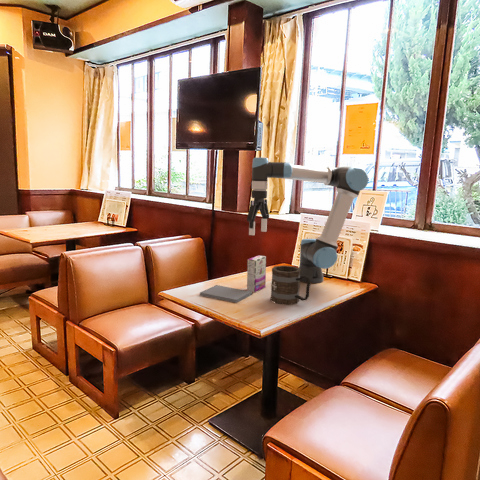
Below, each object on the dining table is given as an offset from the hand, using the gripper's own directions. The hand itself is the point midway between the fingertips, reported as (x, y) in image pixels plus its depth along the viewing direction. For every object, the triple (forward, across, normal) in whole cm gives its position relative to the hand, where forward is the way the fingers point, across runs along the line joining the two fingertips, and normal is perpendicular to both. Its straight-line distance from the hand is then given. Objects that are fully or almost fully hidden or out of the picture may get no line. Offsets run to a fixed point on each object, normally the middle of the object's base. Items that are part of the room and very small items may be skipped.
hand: (257, 233), depth 200 cm
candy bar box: (+29, 0, 0) cm, 29 cm away
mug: (+29, +9, +22) cm, 37 cm away
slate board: (+29, +16, -8) cm, 34 cm away
